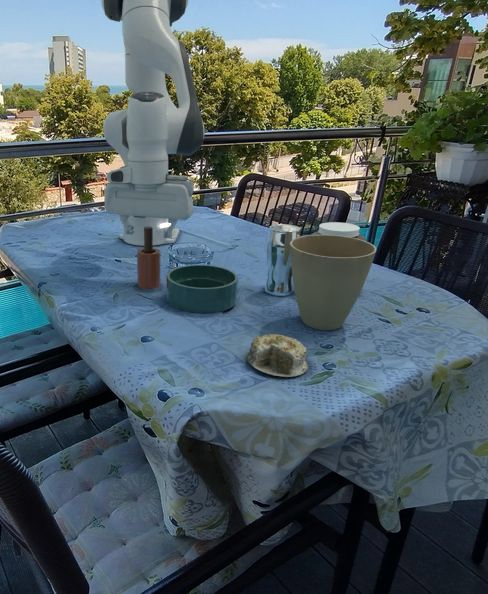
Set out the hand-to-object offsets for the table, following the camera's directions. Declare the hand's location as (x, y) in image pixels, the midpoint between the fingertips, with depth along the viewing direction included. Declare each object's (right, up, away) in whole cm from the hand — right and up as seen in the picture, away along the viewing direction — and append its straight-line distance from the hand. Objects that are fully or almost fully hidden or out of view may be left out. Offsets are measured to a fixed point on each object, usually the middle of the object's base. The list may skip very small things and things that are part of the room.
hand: (148, 235), depth 106 cm
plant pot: (+34, -19, -14) cm, 41 cm away
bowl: (+12, -15, -4) cm, 19 cm away
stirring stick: (0, -11, +4) cm, 12 cm away
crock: (0, -12, +5) cm, 13 cm away
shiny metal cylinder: (+30, -13, +1) cm, 33 cm away
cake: (+21, -25, -28) cm, 43 cm away
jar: (+42, -13, +2) cm, 44 cm away
